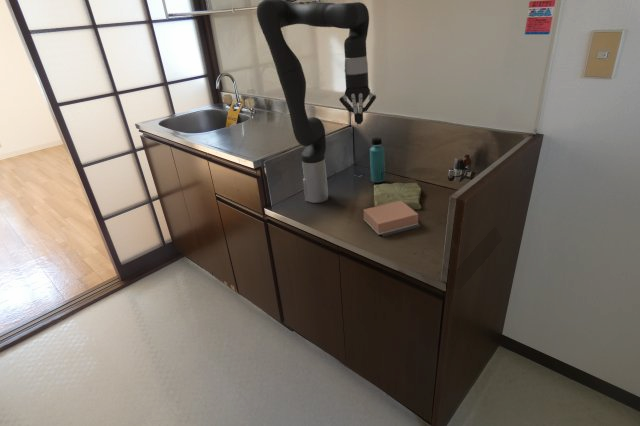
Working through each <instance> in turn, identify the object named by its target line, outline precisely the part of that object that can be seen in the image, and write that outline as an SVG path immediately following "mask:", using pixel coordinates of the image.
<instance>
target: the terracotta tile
mask: <svg viewBox="0 0 640 426" xmlns="http://www.w3.org/2000/svg"><path fill="white" fill-rule="evenodd" d="M363 220H364V221H365V222H366V223H367V224H368V225H369V227H371V229H372V230H373V231H374V232H375V233H376V234H377V235H381V234H383V233H387V232H390V231H394V230H398V229H402V228H406V227H410V226H413V225H417V224H419V213H417V212H416V211H415V209H413V210H412V209H411V208H410V207H409V206H407V205H406V204H405V203H403V202H402V201H397V202H393V203H389V204H385V205H380V206H376V207H375V206H373V207H368V208H364V209H363Z"/></svg>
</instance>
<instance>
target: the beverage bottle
mask: <svg viewBox="0 0 640 426" xmlns="http://www.w3.org/2000/svg"><path fill="white" fill-rule="evenodd" d="M371 139H372V140H371V145H372V146H371V147H370V148H369V162H370V163H369V165H370V166H369V167H370V168H369V169H370V170H369V171H370V180H371V182H373V183H382V182H385V180H386V177H387V176H386V164H385V163H386V158H385V156H386V155H385V148H384V146H383V145H381V144H382V142H383V141H382V138H381V137H374V138H371Z"/></svg>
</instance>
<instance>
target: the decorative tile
mask: <svg viewBox="0 0 640 426" xmlns="http://www.w3.org/2000/svg"><path fill="white" fill-rule="evenodd" d="M421 193H422V188H421V187H420V185H418V183H417V182H404V183H403V182H393V183H381V184H374V185H373V201H374V202H373V203H374V207H376V206H380V205H385V204H389V203H393V202H397V201H402V202H403V203H405V204H406V205H407V206H409V207H410V208H411V209H412V210H421V209H422V205H421V204H420V199H421Z"/></svg>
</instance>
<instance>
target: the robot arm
mask: <svg viewBox="0 0 640 426" xmlns="http://www.w3.org/2000/svg"><path fill="white" fill-rule="evenodd" d="M367 7H368V6H366V4H365V3H363V2H360V1H359V2H345V3H344V2H343V3H334V2H310V3H296V2H293V1H292V2H291V1H288V0H260V1H259V3H258V4H257V7H256V17H257V21H258V25H259V27H260V29H261V32H262V33H263V36H264V39H265V41H266V43H267V46H268V48H269V51H270V55H271V57H272V60H273V62H274V67H275V69H276V73H277V76H278V80H279V83H280V85H281V89H282V91H283V94H284V98H285V102H286V105H287V109H288V113H289V118H290V121H291V126H292V131H293V134H294V138H295V140H296V141H297V143H298V144H300V146H303V147H304V149H303V150H302V151H301V155H300V156H301V157H300V158H301V164H302V171H303V174H302V175H303V179H302V186H303V192H304V193H303V194H304V202H309V203H312V204H317V203H323V202H325V201H327V200H328V199H329V190H328V179H327V170H326V169H327V168H326V155H325V154H326V150H327V144H326V143H327V142H326V141H327V140H326V130H325V125H324V123H323V121H322V120H321V119H319V118H318V117H315V116H314V117H313V116H312V117H309V118H308V114H307V112H306V111H307V110H306V92H307V81H306V75H305V72H304V69H303V66H302V63H301V61H300V59H299V58H298V57H297V55H296V54H295V53H294V52H293V50H292V48H290V46H289V45H288V43H287V41H286V40H285V37H284V34H283V31H282V28H284V27H288V26H293V25H294V26H295V25H306V26H310V27H316V28H318V27H319V28H337V29H343V30H344V29H346V30H349V32H348V36H347V37H346V39H344V44H343V45H344V46H343V47H344V48H343V49H344V79H345V91H344V94H343V95H342V96H340V97H339V102H340V103H341V105H342V106H344V107H345V108H346V110H347V111H348V112H349V113H353V114H354V117H353V119H354V123H356V125H361V124H362V123H363V121H364V113H365V112H367V111H368V110H369V109H370V107H372V104H373V103H374V102H375V100H376V98H377V95H376V94H374V93H372V92H371V89H370V86H369V66H368V65H369V63H368V57H367V56H368V55H367V37H368V33H369V25H370V14H369V9H368V8H367ZM367 98H368V100H369V101H367V103H366V104H365V106H364V102H365V101H366V100H367ZM348 100H349V101H348ZM349 102H350V103H351V104H352V105H351V104H350V103H349ZM345 108H344V109H345Z"/></svg>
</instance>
